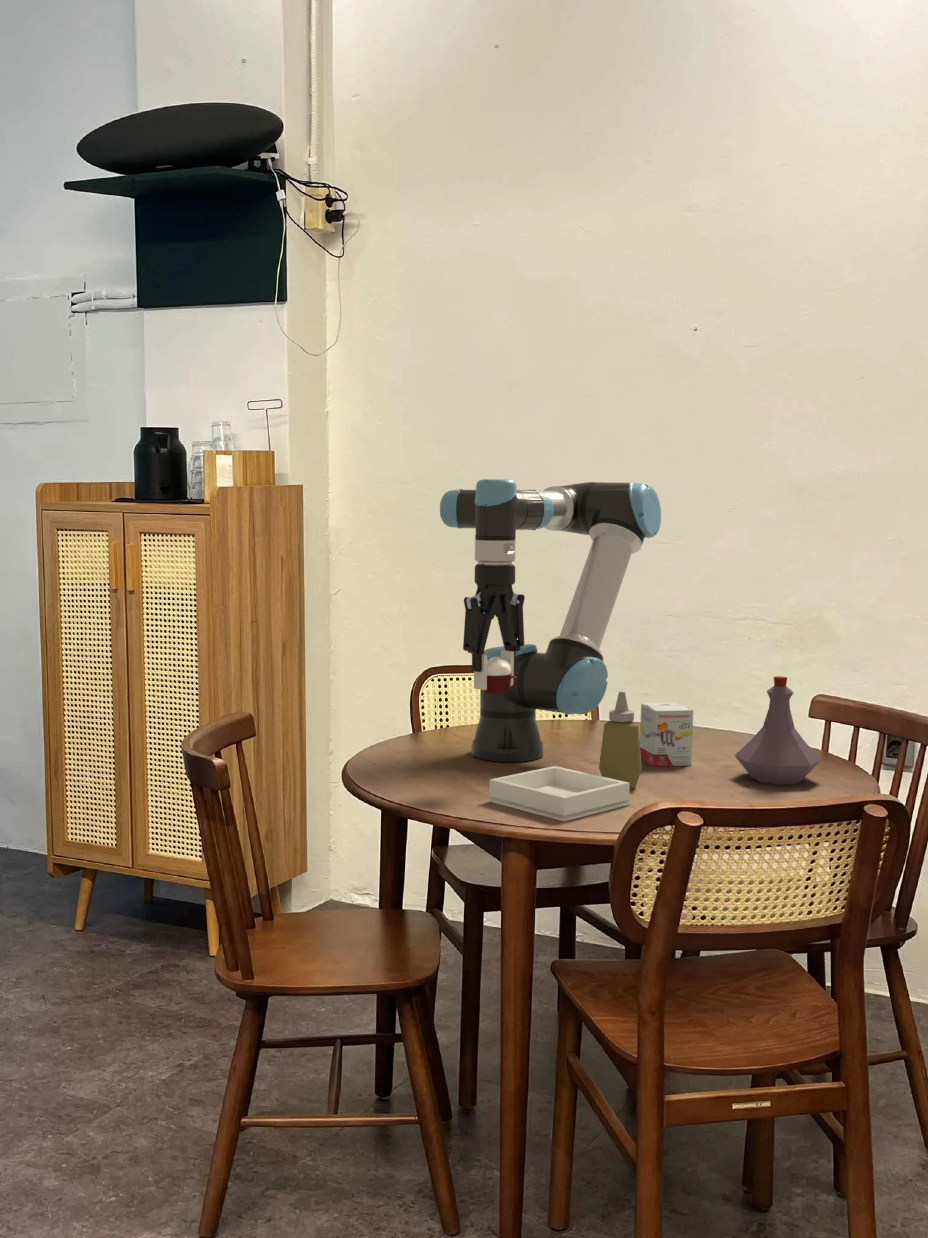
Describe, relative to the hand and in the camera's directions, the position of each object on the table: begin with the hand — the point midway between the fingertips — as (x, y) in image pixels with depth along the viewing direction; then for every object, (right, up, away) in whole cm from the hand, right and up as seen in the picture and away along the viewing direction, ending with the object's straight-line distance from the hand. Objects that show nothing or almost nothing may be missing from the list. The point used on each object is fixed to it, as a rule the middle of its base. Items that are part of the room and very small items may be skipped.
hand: (493, 686), depth 232 cm
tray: (+11, -20, -10) cm, 25 cm away
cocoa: (0, -1, 0) cm, 1 cm away
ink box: (+36, -17, +25) cm, 47 cm away
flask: (+55, -19, +10) cm, 59 cm away
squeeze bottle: (+24, -19, +3) cm, 31 cm away
